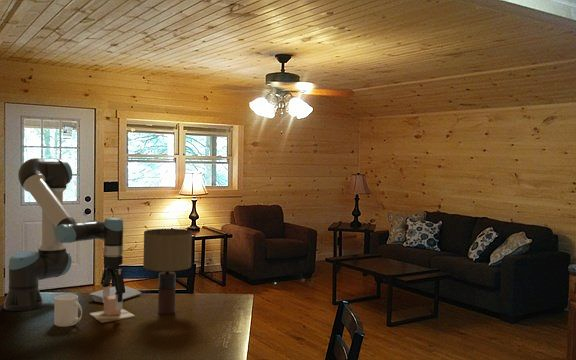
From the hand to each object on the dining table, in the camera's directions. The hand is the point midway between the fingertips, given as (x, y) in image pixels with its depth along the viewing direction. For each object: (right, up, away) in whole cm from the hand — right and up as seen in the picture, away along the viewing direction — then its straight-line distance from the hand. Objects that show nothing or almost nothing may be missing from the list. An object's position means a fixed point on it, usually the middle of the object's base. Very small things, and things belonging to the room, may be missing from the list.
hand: (112, 305), depth 225 cm
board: (0, -4, 0) cm, 4 cm away
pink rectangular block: (0, -3, 0) cm, 3 cm away
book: (-8, -4, +29) cm, 30 cm away
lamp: (+21, -5, +8) cm, 23 cm away
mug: (-13, -5, -13) cm, 19 cm away
